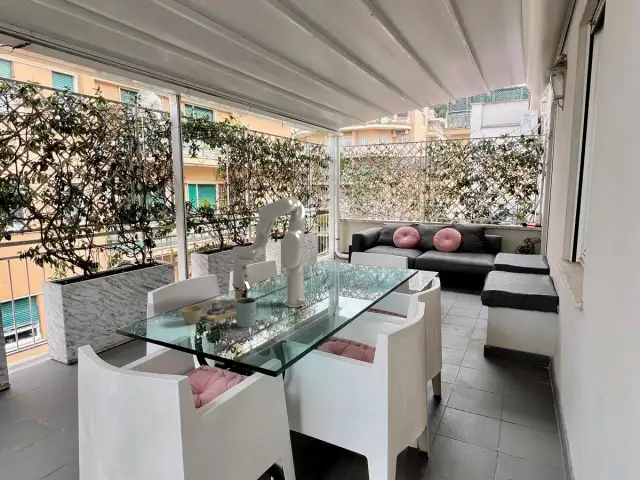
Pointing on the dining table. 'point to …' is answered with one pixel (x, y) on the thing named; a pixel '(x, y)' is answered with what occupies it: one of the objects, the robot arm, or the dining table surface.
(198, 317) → the flower pot
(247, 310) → the grey cup
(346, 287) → the dining table surface
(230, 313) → the gear board
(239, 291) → the brass gear
